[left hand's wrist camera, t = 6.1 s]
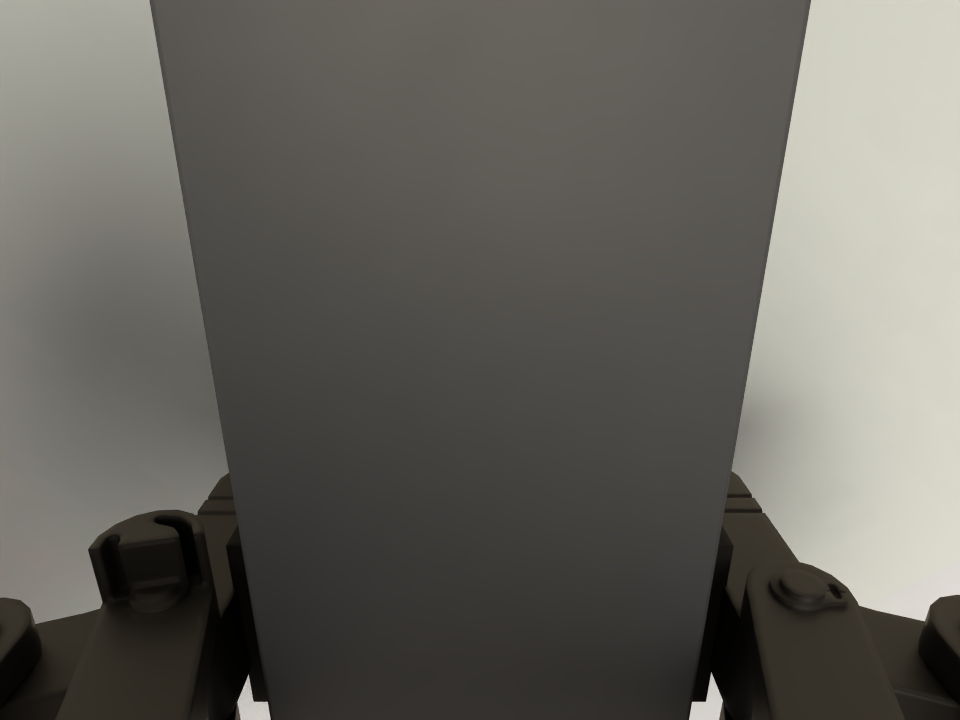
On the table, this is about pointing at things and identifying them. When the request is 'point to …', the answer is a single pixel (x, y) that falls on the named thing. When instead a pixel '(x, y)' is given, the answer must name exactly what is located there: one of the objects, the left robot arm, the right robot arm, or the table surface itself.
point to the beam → (480, 332)
